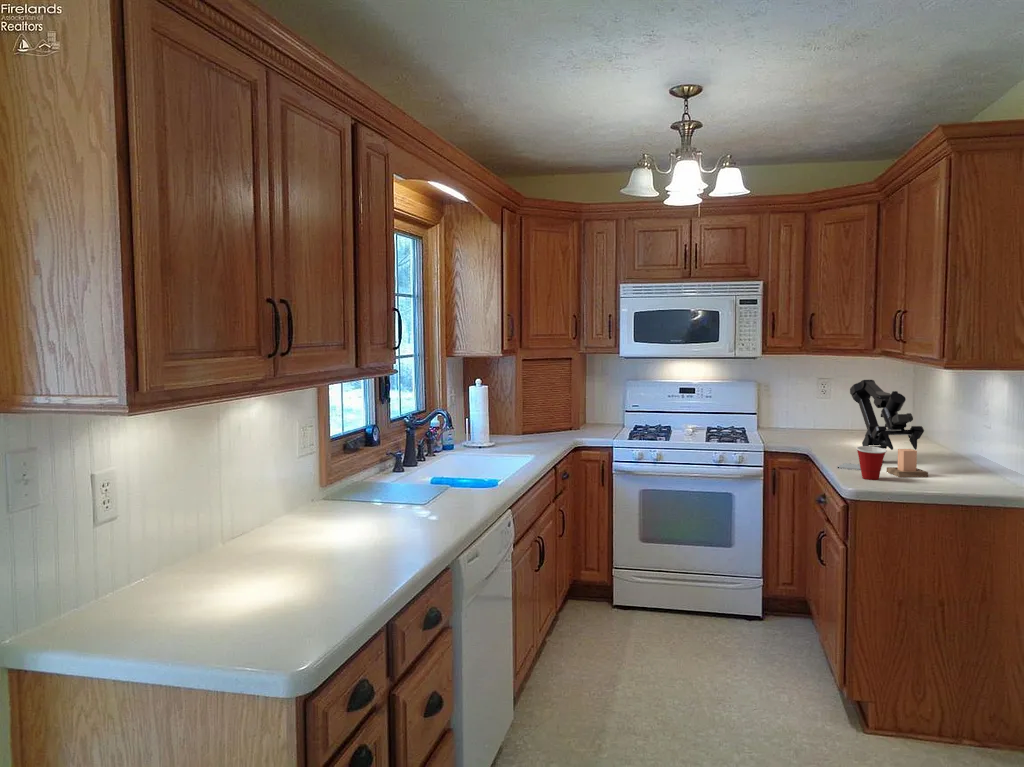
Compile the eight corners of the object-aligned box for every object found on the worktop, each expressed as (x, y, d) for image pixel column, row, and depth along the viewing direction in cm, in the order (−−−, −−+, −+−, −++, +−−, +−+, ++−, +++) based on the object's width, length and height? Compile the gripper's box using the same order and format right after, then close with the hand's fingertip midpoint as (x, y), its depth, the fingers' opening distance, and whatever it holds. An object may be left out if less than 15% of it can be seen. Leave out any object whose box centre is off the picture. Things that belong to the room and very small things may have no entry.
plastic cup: (869, 482, 281) (869, 450, 281) (849, 477, 292) (849, 446, 291) (893, 480, 284) (893, 449, 283) (872, 475, 295) (872, 445, 294)
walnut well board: (886, 472, 301) (886, 467, 301) (914, 472, 300) (914, 467, 300) (899, 477, 290) (899, 472, 290) (928, 477, 289) (928, 472, 289)
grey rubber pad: (844, 464, 320) (844, 463, 320) (872, 467, 313) (872, 465, 313) (836, 468, 312) (836, 466, 312) (864, 470, 305) (864, 469, 305)
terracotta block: (897, 473, 298) (897, 448, 297) (910, 473, 297) (910, 448, 297) (903, 475, 293) (903, 450, 292) (916, 475, 293) (916, 450, 292)
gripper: (875, 406, 302) (887, 437, 292) (922, 406, 301) (935, 436, 291) (866, 423, 310) (878, 453, 300) (912, 423, 309) (925, 453, 299)
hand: (904, 449), depth 297 cm, fingers open, 9 cm apart
